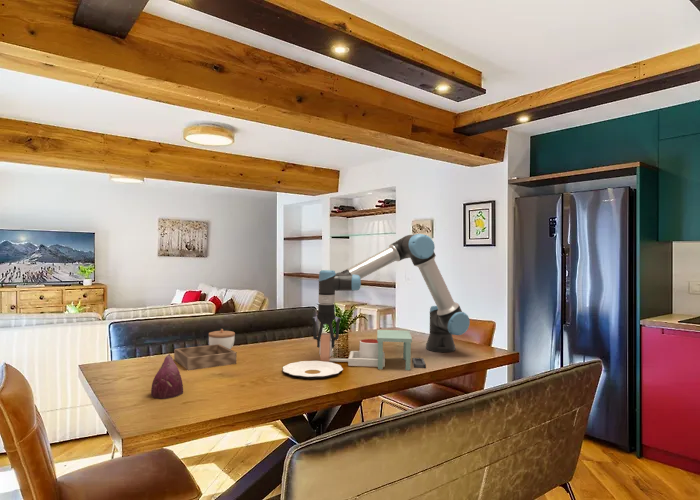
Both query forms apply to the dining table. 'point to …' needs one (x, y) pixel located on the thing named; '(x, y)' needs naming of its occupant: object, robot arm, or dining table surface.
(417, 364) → the pit tray
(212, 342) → the lidded bowl
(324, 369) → the plate
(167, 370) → the vegetable
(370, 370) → the dining table surface
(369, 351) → the cup
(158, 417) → the dining table surface
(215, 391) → the dining table surface
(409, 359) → the mint green stool
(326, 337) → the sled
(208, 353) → the brown wooden tray
